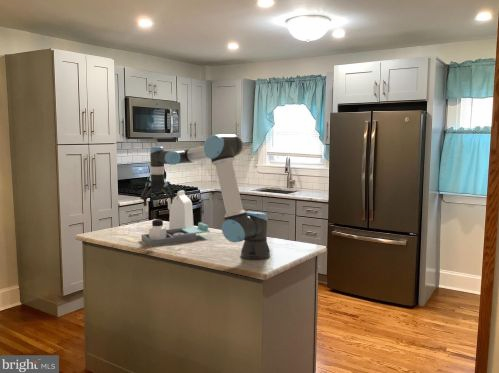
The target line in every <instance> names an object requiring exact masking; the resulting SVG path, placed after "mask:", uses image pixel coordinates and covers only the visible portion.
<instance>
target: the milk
mask: <svg viewBox="0 0 499 373" xmlns="http://www.w3.org/2000/svg"><path fill="white" fill-rule="evenodd" d="M173 198H174V199H173ZM173 198H172V204H171V210H169V220H168V221H169V223H168V224H169V226H168V230H169V229H178V228H194V213H193V202H192V200H191V198H189V196H188V195H186V194H185V190H179V191H177V193H176V195H175V197H173Z"/></svg>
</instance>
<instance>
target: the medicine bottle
mask: <svg viewBox="0 0 499 373" xmlns="http://www.w3.org/2000/svg"><path fill="white" fill-rule="evenodd" d="M163 222H164V221H163V220H162V219H161V218H157V219H156V218H155V219H152V220H151V227H150V228H148V234H149V239H151V240H155V239H163V238H166V230H167V227H164V223H163Z"/></svg>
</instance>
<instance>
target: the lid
mask: <svg viewBox="0 0 499 373" xmlns="http://www.w3.org/2000/svg"><path fill="white" fill-rule="evenodd" d="M182 231H184V232H186V233H196V235H197V234H201V233H202V234H203V233H204V234H205V233H210V229H209V225H208V224H205V223H203V222H201V221H200V222H197V226H195V227H194V228H185V229H182Z"/></svg>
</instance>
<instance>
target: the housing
mask: <svg viewBox="0 0 499 373" xmlns="http://www.w3.org/2000/svg"><path fill="white" fill-rule="evenodd" d="M182 229H185V228H178V229H169V228H168V229H166V238H163V239H155V240H151V239H149V233H145V234H141V236H140V237H141V241H142V242H143V243H144V242H145V244H146V245H147V246H149V247H150V248H151V246H152V247H157V246H158V245H159V246H166V244H167V245H172V244H173V245H175V244H181V243H188V242H194V241H195V242H196V241H197V234H196V233H186V232H184V231H182ZM174 243H175V244H174Z"/></svg>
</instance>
